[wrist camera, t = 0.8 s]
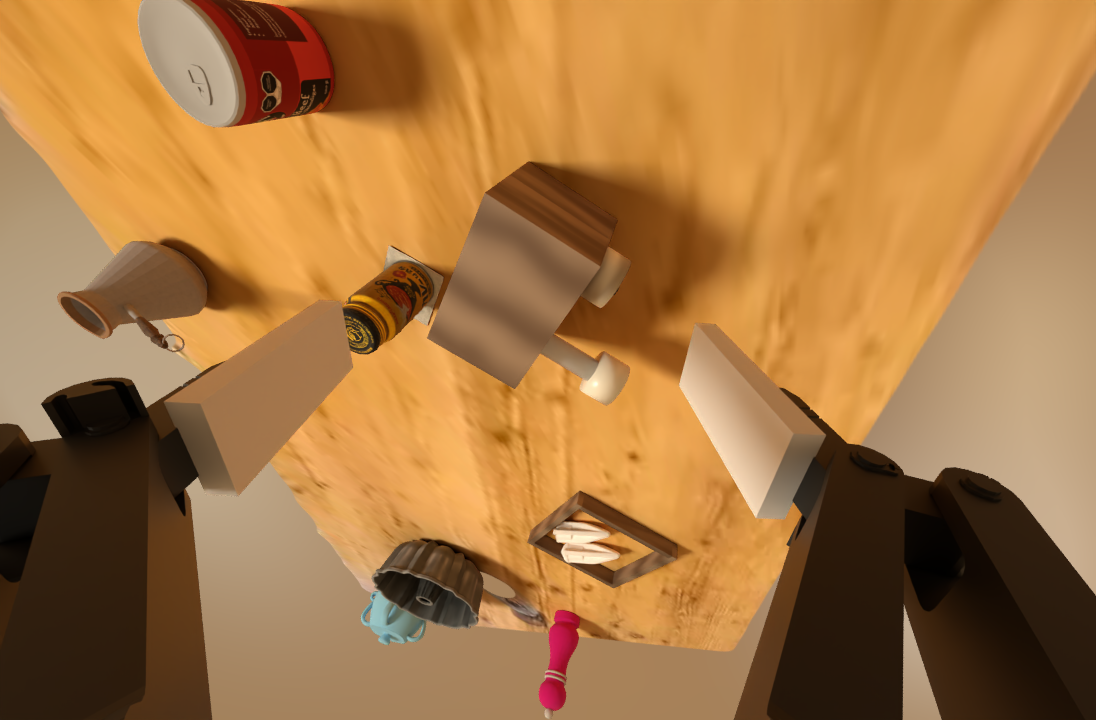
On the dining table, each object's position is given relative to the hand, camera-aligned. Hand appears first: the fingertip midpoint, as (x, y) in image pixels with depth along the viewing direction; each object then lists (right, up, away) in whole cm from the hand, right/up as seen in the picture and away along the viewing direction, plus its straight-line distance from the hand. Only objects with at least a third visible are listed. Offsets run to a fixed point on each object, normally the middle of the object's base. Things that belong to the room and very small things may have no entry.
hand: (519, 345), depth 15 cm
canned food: (-22, +27, +22) cm, 42 cm away
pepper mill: (+6, -65, +84) cm, 106 cm away
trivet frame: (+11, -34, +58) cm, 68 cm away
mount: (+1, +10, +28) cm, 30 cm away
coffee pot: (-48, +12, +43) cm, 66 cm away
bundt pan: (-25, -50, +83) cm, 100 cm away
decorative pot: (-41, -70, +104) cm, 132 cm away
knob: (+3, +2, +27) cm, 28 cm away
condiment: (-16, +9, +35) cm, 39 cm away
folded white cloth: (+9, -33, +59) cm, 69 cm away
